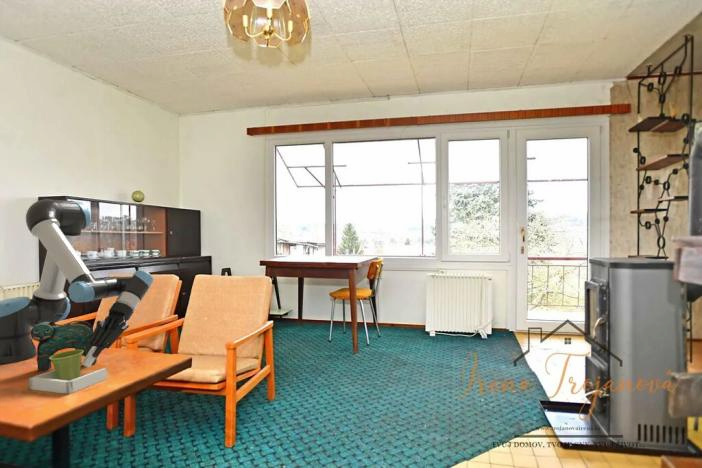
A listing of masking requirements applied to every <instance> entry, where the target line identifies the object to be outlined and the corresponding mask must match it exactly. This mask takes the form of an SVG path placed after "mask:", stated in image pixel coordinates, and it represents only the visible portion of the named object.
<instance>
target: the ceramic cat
mask: <svg viewBox="0 0 702 468" xmlns="http://www.w3.org/2000/svg"><path fill="white" fill-rule="evenodd" d="M56 314H61V315H63V316H65V315H64V314H62V313H56ZM56 314H55V315H56ZM55 315H54V316H55ZM54 316H53V322H42V323H40V322H39V321H36V322H35V324H34V327H32V328H30V335H31V338H32V341H37V342H38V345H37V348H36V363H37V373H38V372H48V371H49V370H51V368H52V361H51V360H50V359H49V357H51V356H52V355H55V354H57V353H58V351H62V350H67V349H74V350H75V349H79V350H83V351H84V352H83V353H82V355H83V356H84V358H85V357H86V354H87V353H88V351H89V350H90V348H91V345H89V344H88V343H89V341H90V339H91V336H92V334H93V332H94V328H93V326H92V324H91V323H90V322H88V321H84V320H74V321H73V320H72V321H70V322H67V323H63V324H57V323H54ZM82 323H83V324H82ZM86 324H87V325H88V326H87V325H86ZM97 360H98V357H97V358H96V359H95V360H94V362H93V363H92V365H91V366H93V365H96V363H97Z"/></svg>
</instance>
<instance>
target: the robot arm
mask: <svg viewBox="0 0 702 468" xmlns="http://www.w3.org/2000/svg"><path fill="white" fill-rule="evenodd" d="M91 219H92V215H91V211H90V210H89V208H88V207H87V205H86V204H84V203H83V202H80V201H74V200H61V199H60V200H59V199H50V198H49V199H48V198H47V199H41V200H37V201H35V202H33V203H32V204H31V205H30V206H29V207H28V209H27V210H26V214H25V223H26V227H27V228H28V230H29V232H30V233H31V235H32V236H33V237H36V238H38V240H39V241H40V243H41V244H42V245H43V247H44V248H45V249H46V256H45V259H44V263H43V268H42V273H41V276H40V282H39V286H38V288H37V289H36V290H33V293H32V297H31V298H30V297H29V296H17V297H16V296H15V297H9V298H5V299H2V300H0V364H10V363H17V362H20V361H25V360H28V359H31V358H34V357H37V348H36V345H35V343H34V340H33V339H32V337H31V329H32V328H33V327H34V324H35V322H36V321H39V322H40V323H42V322H53V316H54V315H55V314H56V313H62V314H64V315H65V316H63V315H61V314H56V315H55V316H54V323H55V324H57V322H61V321H63V320H65V319H66V318H67V316H68V315H69V313H70V311H71V303H70V302H71V301H73V302H74V303H76V304H77V303H88V302H92V301H97V300H103V299H108V298H114V297H117V298H116V299H115V301H114V303H112V306H110V308H109V310H108V315H107V316H106V317H105V318H104V320H97V322H96V324H95V325H96V326H95V328H94V329H93V334H92V336H91V339H90V341H89V343H88V344H89V345H91V348H90V350H89V351H88V353H87V354H86V357H85V356H84V359H83V360H81V366H82V365H83V366H84V367H85V368H88V369H89V368H91V367H92V366H93V365H92V363H93V362H94V360H95V359H96V358H97V359H98V357H99V356H100V354H101V353H102V351H104V350H105V349H107V350H108V349H110V348H111V346H112V345H114V343H115V341H117V339H119V337H121V335H122V334H123V332H125V331H126V330H127V329H129V327H130V325H129V324H128V323H127V322H128V321H129V320H130V319H131V318H132V315H133V314H134V311H136V309H137V308H138V306H139V304H140V303H141V302H142V300H143V298H144V297H145V296H146V293H147V292H148V291H149V289H150V288H151V286H152V284H153V282H154V277H153V276H152V274H151V273H150V272H148V271H145V270H142V269H139V270H136V271H135V272H134V273H133V274H132V276H109V277H105V278H98V279H96V278H95V277H94V274H92V272H91V271H90V270H89V269H88V267H87V265H86V264H85V262H84V261H83V259H82V258H81V257H80V255H79V254H78V253H77V251H76V249H75V248H74V245H75V241H76V239H77V238H78V237H80V236H81V234H82V230H85V229H87V228H88V227H89V226H90V225H91V221H92V220H91ZM66 280H67V281H68V283H69V284H70V285H69V287H68V290H67V292H68V294H69V296H67V293H66V292H65V291H64V289H65V285H66ZM70 300H71V301H70Z"/></svg>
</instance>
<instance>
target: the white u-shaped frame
mask: <svg viewBox="0 0 702 468" xmlns="http://www.w3.org/2000/svg"><path fill="white" fill-rule="evenodd" d="M107 374H108V373H107V368H104V367H103V368H100V369H98V370H96V371H91V372H90V373H87V374H84V375H82V376H81V375H80V377H78V378H76V379H73V380H70V381H68V380H59V379H57V376H56V372H55V369H52V370H50V371H49V370H48V371H45V372H44V373H41V374H40V373H39V374H37V375H33V376H31V377H29V378H28V382H29V385H28V388H29V390H32V391H42V392H49V393H58V394H67V395H70V394H72V393H75V392H79V391H81V390H82V389H86V388H89V387H90V386H93V385H95V384H98V383H101V382H104V381H105V380H107V379H108V378H107Z"/></svg>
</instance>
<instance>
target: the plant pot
mask: <svg viewBox="0 0 702 468" xmlns="http://www.w3.org/2000/svg"><path fill="white" fill-rule="evenodd" d="M83 352H84V351H83V350H75V349H73V350H72V349H71V350H66V351H61V352H59V353H58V352H57V353H55V354H54V355H52V356H51V357H49V359H50V360H51V364H52V366H53V368H54V369H53V370H55V372H56V376H57V379H59V380H68V381H70V380H73V379H76V378H78V377H81V369H82V364H81V363H82V357H83Z"/></svg>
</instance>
